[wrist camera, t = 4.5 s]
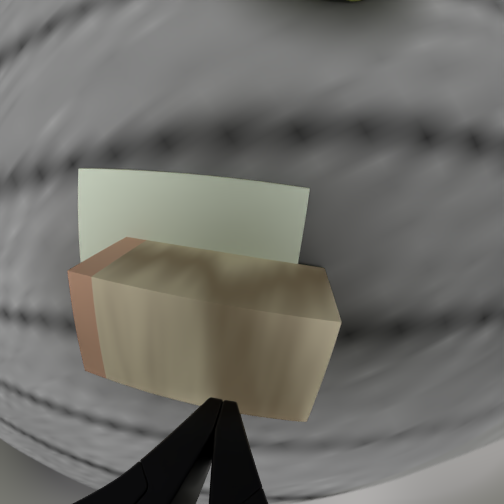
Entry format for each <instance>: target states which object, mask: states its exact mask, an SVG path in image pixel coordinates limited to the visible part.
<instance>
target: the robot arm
mask: <svg viewBox="0 0 504 504" xmlns="http://www.w3.org/2000/svg"><path fill="white" fill-rule="evenodd" d="M211 463H212V466H211ZM210 466H211V480H210V494H209V504H268V502H267V499H266V496H265V493H264V490H263V489H262V484H261V481H260V478H259V475H258V472H257V469H256V465H255V462H254V459H253V456H252V452H251V449H250V446H249V442H248V439H247V436H246V432H245V429H244V425H243V422H242V418H241V415H240V411H239V408H238V404H237V402H235V401H229V400H224V401H223V400H222V399H219V398H213V397H210V398H208V399H207V400H206V401H205V402H204V403H203V404H202V405H201V406H200V407H199V408H198V409H197V410H196V411H195V412H194V413H193V414H191V415H190V416H189V417H188V418H187V419H186V420H185V421H184V422H183V423H182V424H181V425H180V426H179V427H177V428H176V429H175V430H174V431H173V432H172V433H171V434H170V435H169V436H167V437H166V438H165V439H164V440H163V441H162V442H161V443H160V444H158V445H157V446H156V447H155V448H154V449H153V450H152V451H150V452H149V453H148V454H147V455H146V456H145V457H144V458H142V459H141V460H140V462H137V463H136V464H135V465H134V466H133V467H132V468H130V469H129V470H128V471H126V472H125V473H124V474H122V475H121V476H120V477H118V478H117V479H115V480H114V481H112V482H111V483H109V484H107V485H106V486H104V487H102V488H101V489H99V490H97V491H95V492H94V493H92V494H90V495H88V496H86V497H85V498H83V499H81V500H79V501H77V502H75V503H73V504H196V502H197V499H198V497H199V494H200V492H201V489H202V487H203V484H204V482H205V479H206V476H207V474H208V471H209V469H210Z"/></svg>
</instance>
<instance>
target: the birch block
mask: <svg viewBox="0 0 504 504" xmlns="http://www.w3.org/2000/svg"><path fill="white" fill-rule="evenodd" d="M68 279H69V288H70V295H71V302H72V309H73V315H74V321H75V326H76V332H77V337H78V342H79V346H80V351H81V355H82V360H83V364H84V368H85V371H88V372H90V373H93V374H96V375H98V376H101V377H104V378H106V379H109V380H112V381H115V382H118V383H121V384H124V385H127V386H130V387H133V388H136V389H139V390H143V391H146V392H149V393H153V394H156V395H160V396H163V397H167V398H171V399H175V400H178V401H182V402H187V403H191V404H195V405H199V406H201V405H202V404H203V403H204V402H205V401H206V400H207V399H208V398H210V397H213V398H219V399H222V400H223V401H224V400H229V401H235V402H237V404H238V408H239V411H240V414H246V415H252V416H259V417H266V418H274V419H282V420H291V421H301V422H307V419H308V417H309V414H310V412H311V409H312V407H313V404H314V402H315V399H316V396H317V394H318V391H319V388H320V386H321V383H322V380H323V377H324V375H325V372H326V369H327V366H328V363H329V360H330V357H331V354H332V351H333V348H334V345H335V342H336V339H337V336H338V332H339V329H340V326H341V323H342V322H341V319H340V315H339V312H338V309H337V306H336V302H335V299H334V296H333V293H332V290H331V287H330V284H329V280H328V277H327V274H326V271H325V268H320V267H314V266H307V265H301V264H295V263H288V262H282V261H275V260H269V259H263V258H256V257H250V256H243V255H237V254H231V253H224V252H218V251H212V250H206V249H199V248H193V247H187V246H181V245H174V244H168V243H162V242H156V241H149V240H143V239H137V238H131V237H125V238H123V239H122V240H120V241H118V242H116V243H114V244H113V245H111V246H109V247H107V248H105V249H104V250H102V251H100V252H98V253H97V254H95V255H93V256H92V257H90V258H88V259H86V260H85V261H83V262H81V263H80V264H78V265H76V266H75V267H73V268H71V269H70V270H68Z"/></svg>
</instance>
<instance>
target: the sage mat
mask: <svg viewBox="0 0 504 504" xmlns="http://www.w3.org/2000/svg"><path fill="white" fill-rule="evenodd" d="M309 191H310V189H309V188H305V187H298V186H292V185H285V184H278V183H270V182H263V181H255V180H247V179H238V178H229V177H220V176H210V175H200V174H188V173H176V172H163V171H147V170H129V169H104V168H80V169H79V175H78V225H79V246H80V260H81V262H83V261H85V260H86V259H88V258H90V257H92V256H93V255H95V254H97V253H98V252H100V251H102V250H104V249H105V248H107V247H109V246H111V245H113V244H114V243H116V242H118V241H120V240H122V239H123V238H125V237H131V238H137V239H143V240H149V241H156V242H162V243H168V244H174V245H181V246H187V247H193V248H199V249H206V250H212V251H218V252H224V253H231V254H237V255H243V256H250V257H256V258H263V259H269V260H275V261H282V262H288V263H295V264H298V260H299V254H300V248H301V242H302V236H303V230H304V224H305V218H306V211H307V205H308V198H309Z"/></svg>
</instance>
